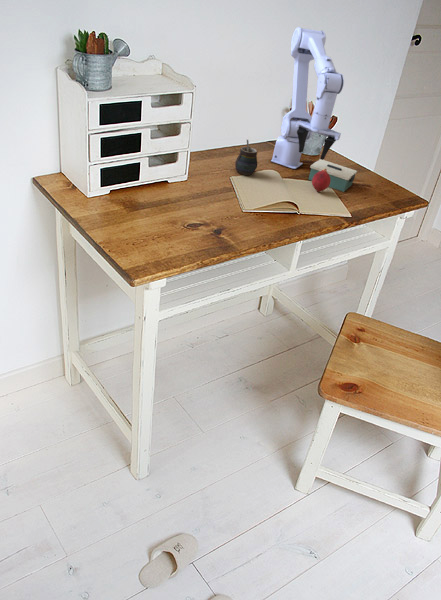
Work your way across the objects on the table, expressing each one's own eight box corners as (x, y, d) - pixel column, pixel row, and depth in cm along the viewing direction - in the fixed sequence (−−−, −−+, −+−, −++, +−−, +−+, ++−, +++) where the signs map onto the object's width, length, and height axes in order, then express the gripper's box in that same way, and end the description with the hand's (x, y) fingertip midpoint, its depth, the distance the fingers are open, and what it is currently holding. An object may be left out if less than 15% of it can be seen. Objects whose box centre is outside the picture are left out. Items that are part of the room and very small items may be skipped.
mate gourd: (238, 177, 180) (244, 147, 175) (229, 168, 186) (235, 138, 180) (258, 177, 183) (264, 147, 178) (249, 168, 189) (255, 139, 183)
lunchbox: (305, 179, 189) (310, 163, 186) (315, 172, 196) (319, 157, 193) (345, 192, 184) (350, 177, 181) (354, 185, 192) (358, 169, 189)
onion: (321, 197, 178) (328, 173, 173) (306, 190, 180) (312, 167, 176) (329, 193, 182) (336, 169, 177) (314, 186, 184) (321, 163, 180)
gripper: (296, 108, 173) (286, 151, 180) (340, 122, 168) (328, 164, 176) (304, 105, 178) (294, 146, 186) (347, 118, 174) (335, 159, 181)
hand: (311, 155), depth 181 cm, fingers open, 7 cm apart
